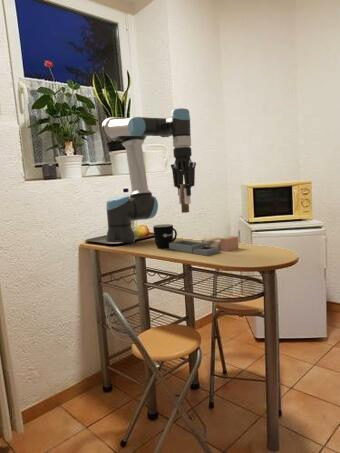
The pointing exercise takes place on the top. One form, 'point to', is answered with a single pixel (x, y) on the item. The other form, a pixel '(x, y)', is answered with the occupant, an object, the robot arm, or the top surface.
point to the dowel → (183, 200)
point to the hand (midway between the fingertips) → (184, 203)
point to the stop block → (229, 243)
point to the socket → (206, 250)
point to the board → (212, 242)
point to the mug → (164, 235)
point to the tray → (185, 246)
